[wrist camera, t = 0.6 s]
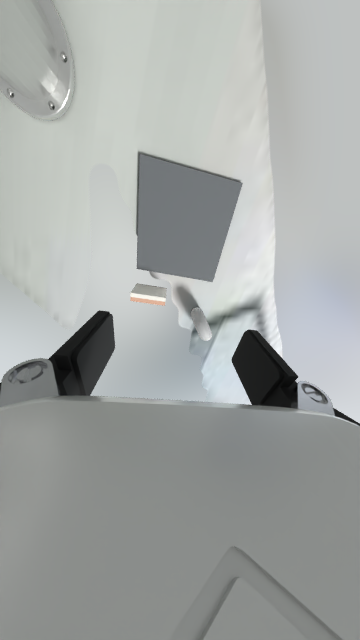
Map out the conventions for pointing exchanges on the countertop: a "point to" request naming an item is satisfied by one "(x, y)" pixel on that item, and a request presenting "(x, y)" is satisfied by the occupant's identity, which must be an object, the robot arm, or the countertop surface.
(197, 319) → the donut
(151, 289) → the tile
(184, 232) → the mat
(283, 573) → the robot arm
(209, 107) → the countertop surface
